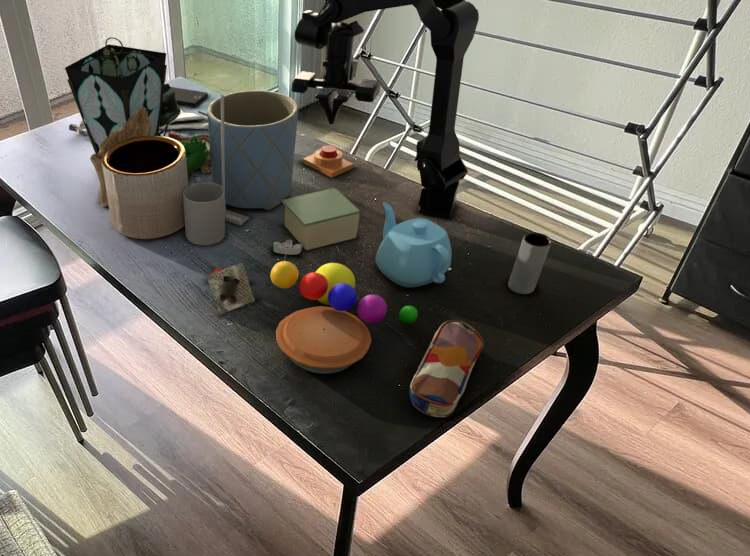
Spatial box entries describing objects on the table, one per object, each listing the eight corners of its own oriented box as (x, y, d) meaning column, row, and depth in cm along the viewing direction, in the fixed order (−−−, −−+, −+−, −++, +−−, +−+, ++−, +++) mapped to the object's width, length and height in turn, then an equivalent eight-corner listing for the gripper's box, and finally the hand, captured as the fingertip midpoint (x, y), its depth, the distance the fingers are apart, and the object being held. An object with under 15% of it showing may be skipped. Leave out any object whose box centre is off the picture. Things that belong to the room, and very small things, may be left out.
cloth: (127, 114, 192) (126, 106, 191) (165, 100, 198) (165, 92, 197) (184, 143, 177) (183, 134, 175) (224, 126, 182) (223, 118, 181)
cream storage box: (306, 250, 137) (308, 226, 133) (284, 225, 145) (285, 201, 141) (356, 237, 140) (359, 213, 136) (332, 213, 147) (334, 190, 143)
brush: (211, 83, 134) (251, 92, 129) (214, 206, 152) (249, 218, 148) (200, 90, 132) (240, 99, 127) (204, 214, 150) (239, 226, 146)
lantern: (173, 155, 172) (164, 30, 152) (136, 184, 162) (121, 54, 142) (121, 143, 179) (105, 22, 159) (82, 170, 169) (60, 44, 149)
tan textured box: (206, 275, 122) (193, 278, 127) (219, 314, 123) (206, 316, 128) (242, 262, 125) (228, 266, 130) (255, 300, 126) (240, 302, 131)
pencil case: (419, 307, 112) (410, 328, 115) (411, 395, 99) (402, 416, 103) (488, 322, 110) (477, 343, 114) (489, 414, 97) (476, 434, 101)
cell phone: (194, 106, 194) (194, 103, 193) (140, 97, 200) (140, 94, 200) (208, 95, 199) (208, 92, 199) (155, 87, 206) (155, 84, 205)
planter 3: (536, 295, 122) (554, 247, 115) (509, 293, 123) (525, 245, 116) (532, 280, 125) (549, 232, 118) (506, 278, 126) (521, 231, 119)
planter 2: (198, 207, 152) (194, 121, 139) (225, 169, 165) (224, 86, 151) (280, 220, 146) (284, 131, 133) (302, 178, 159) (308, 94, 145)
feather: (143, 127, 157) (150, 124, 156) (189, 128, 182) (195, 125, 181) (146, 134, 157) (153, 131, 157) (191, 134, 182) (197, 131, 181)
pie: (388, 355, 113) (392, 332, 109) (320, 397, 107) (323, 375, 103) (322, 311, 123) (324, 289, 119) (257, 347, 116) (257, 325, 113)
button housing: (353, 168, 161) (354, 156, 159) (331, 177, 159) (332, 165, 157) (323, 154, 168) (324, 142, 165) (302, 163, 165) (303, 151, 163)
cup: (230, 228, 145) (230, 186, 139) (216, 248, 140) (215, 205, 133) (195, 221, 148) (192, 179, 142) (179, 240, 143) (176, 198, 136)
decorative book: (143, 158, 167) (143, 139, 164) (202, 145, 175) (203, 126, 171) (170, 182, 159) (171, 162, 156) (231, 167, 167) (233, 148, 163)
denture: (176, 146, 178) (150, 152, 174) (175, 129, 176) (149, 136, 172) (188, 150, 174) (162, 157, 170) (187, 134, 172) (161, 140, 168)
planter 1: (202, 204, 152) (198, 138, 142) (173, 247, 141) (166, 180, 130) (131, 194, 158) (122, 131, 147) (98, 236, 147) (85, 170, 136)
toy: (207, 215, 155) (235, 163, 144) (177, 220, 150) (203, 167, 139) (170, 166, 161) (193, 112, 150) (139, 169, 156) (162, 114, 145)
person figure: (121, 141, 180) (120, 129, 178) (66, 142, 181) (64, 130, 179) (126, 125, 189) (125, 113, 187) (73, 125, 190) (71, 114, 188)
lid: (304, 226, 133) (304, 224, 133) (282, 202, 141) (282, 199, 140) (359, 213, 136) (360, 210, 135) (334, 190, 143) (335, 187, 143)
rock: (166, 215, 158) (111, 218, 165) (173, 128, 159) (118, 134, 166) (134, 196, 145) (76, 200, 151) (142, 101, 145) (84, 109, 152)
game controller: (299, 243, 139) (299, 232, 137) (309, 276, 131) (310, 265, 129) (271, 245, 139) (272, 234, 138) (279, 278, 131) (280, 267, 129)
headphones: (187, 144, 171) (134, 148, 185) (199, 93, 171) (145, 101, 185) (151, 122, 161) (98, 129, 175) (163, 68, 161) (109, 79, 175)
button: (339, 155, 161) (340, 148, 160) (328, 160, 159) (329, 153, 158) (328, 150, 163) (329, 143, 162) (317, 155, 162) (318, 148, 161)
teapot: (409, 190, 131) (479, 232, 119) (400, 237, 138) (465, 281, 126) (357, 209, 127) (424, 254, 115) (350, 256, 135) (413, 303, 123)
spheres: (285, 282, 130) (260, 292, 115) (299, 245, 128) (275, 250, 113) (411, 332, 122) (401, 349, 108) (428, 293, 120) (421, 305, 105)
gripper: (392, 45, 147) (381, 115, 157) (310, 37, 154) (305, 104, 164) (377, 63, 140) (367, 135, 150) (292, 53, 147) (288, 123, 157)
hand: (331, 123), depth 156 cm, fingers closed
